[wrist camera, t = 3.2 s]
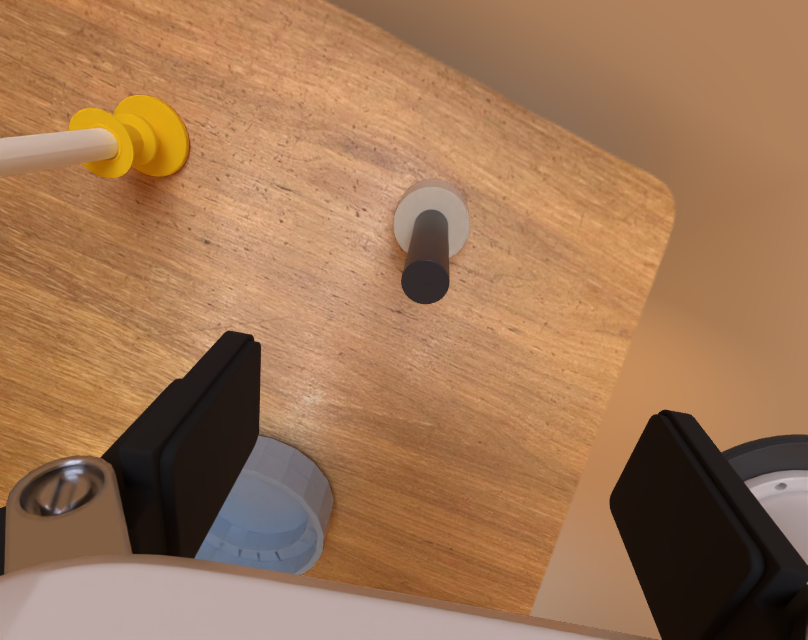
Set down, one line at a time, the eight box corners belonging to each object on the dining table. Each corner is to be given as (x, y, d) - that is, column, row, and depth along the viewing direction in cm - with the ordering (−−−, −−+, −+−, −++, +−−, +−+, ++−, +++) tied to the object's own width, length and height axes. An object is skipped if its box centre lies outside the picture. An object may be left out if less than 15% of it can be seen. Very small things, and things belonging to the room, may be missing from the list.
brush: (474, 185, 31) (492, 239, 20) (459, 254, 34) (467, 339, 22) (403, 173, 31) (378, 219, 20) (392, 242, 34) (364, 321, 22)
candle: (136, 76, 30) (-130, 60, 16) (203, 134, 31) (10, 165, 17) (103, 139, 32) (-160, 173, 18) (167, 191, 33) (-33, 260, 19)
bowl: (341, 443, 43) (329, 484, 38) (328, 550, 49) (317, 596, 45) (181, 415, 43) (150, 452, 38) (190, 526, 49) (164, 568, 45)
